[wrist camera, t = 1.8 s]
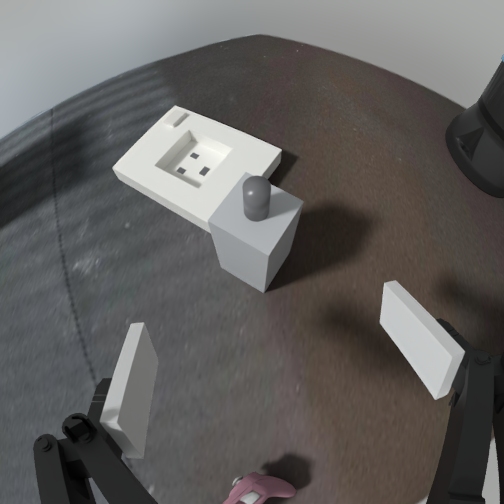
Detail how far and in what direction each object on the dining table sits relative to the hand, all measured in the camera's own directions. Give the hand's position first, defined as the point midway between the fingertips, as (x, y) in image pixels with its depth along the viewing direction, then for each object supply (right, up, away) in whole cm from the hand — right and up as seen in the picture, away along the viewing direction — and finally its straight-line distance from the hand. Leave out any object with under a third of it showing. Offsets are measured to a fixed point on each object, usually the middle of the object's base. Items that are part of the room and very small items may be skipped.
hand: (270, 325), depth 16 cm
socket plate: (-8, +14, +20) cm, 25 cm away
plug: (-1, +3, +15) cm, 16 cm away
